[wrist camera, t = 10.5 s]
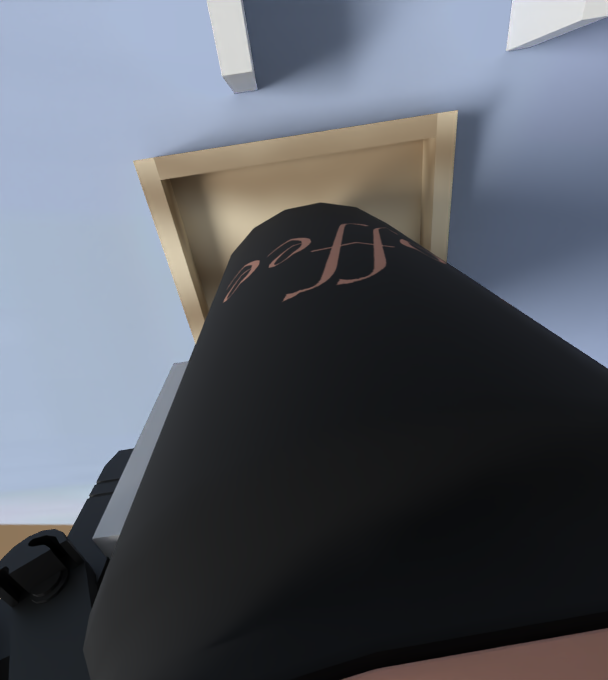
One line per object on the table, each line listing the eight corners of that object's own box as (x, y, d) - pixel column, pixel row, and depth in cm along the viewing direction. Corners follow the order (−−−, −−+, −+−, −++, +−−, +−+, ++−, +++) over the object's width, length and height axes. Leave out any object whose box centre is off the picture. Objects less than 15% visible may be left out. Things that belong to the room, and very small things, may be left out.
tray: (149, 159, 19) (133, 160, 17) (436, 114, 19) (458, 110, 17) (222, 388, 27) (218, 409, 25) (424, 356, 27) (437, 375, 25)
